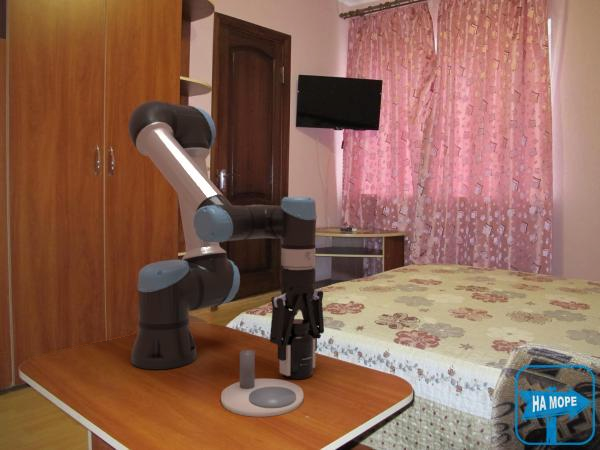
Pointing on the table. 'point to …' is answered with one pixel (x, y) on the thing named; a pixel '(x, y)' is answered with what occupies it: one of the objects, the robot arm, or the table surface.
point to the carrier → (260, 392)
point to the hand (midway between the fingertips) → (297, 369)
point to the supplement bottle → (300, 350)
